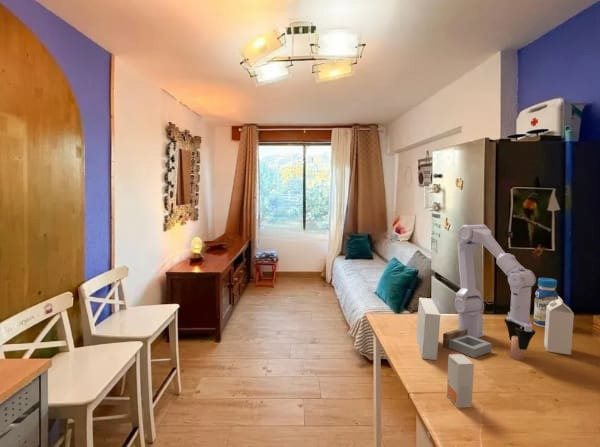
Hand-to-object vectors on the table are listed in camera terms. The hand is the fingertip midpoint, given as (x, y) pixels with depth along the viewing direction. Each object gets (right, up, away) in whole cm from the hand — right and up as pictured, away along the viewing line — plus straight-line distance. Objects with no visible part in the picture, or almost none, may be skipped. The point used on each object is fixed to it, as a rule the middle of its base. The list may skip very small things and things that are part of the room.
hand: (518, 344), depth 130 cm
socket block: (-14, -4, +6) cm, 16 cm away
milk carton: (+18, -5, +8) cm, 20 cm away
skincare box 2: (-32, -7, -27) cm, 42 cm away
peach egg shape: (0, -5, 0) cm, 5 cm away
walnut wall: (-17, -4, +12) cm, 21 cm away
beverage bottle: (+31, -2, +34) cm, 46 cm away
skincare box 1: (-29, -4, +8) cm, 30 cm away
